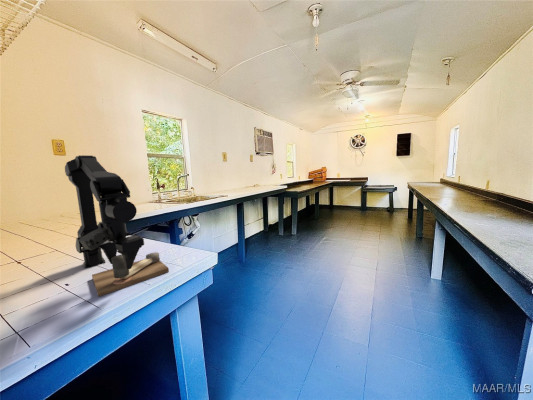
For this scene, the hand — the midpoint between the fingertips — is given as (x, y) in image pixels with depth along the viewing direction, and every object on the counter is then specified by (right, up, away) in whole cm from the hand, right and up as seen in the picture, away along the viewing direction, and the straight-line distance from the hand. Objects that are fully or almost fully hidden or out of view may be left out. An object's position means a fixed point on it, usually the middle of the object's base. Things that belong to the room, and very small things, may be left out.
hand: (120, 266), depth 68 cm
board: (-1, -5, +7) cm, 9 cm away
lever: (+1, -3, +8) cm, 9 cm away
